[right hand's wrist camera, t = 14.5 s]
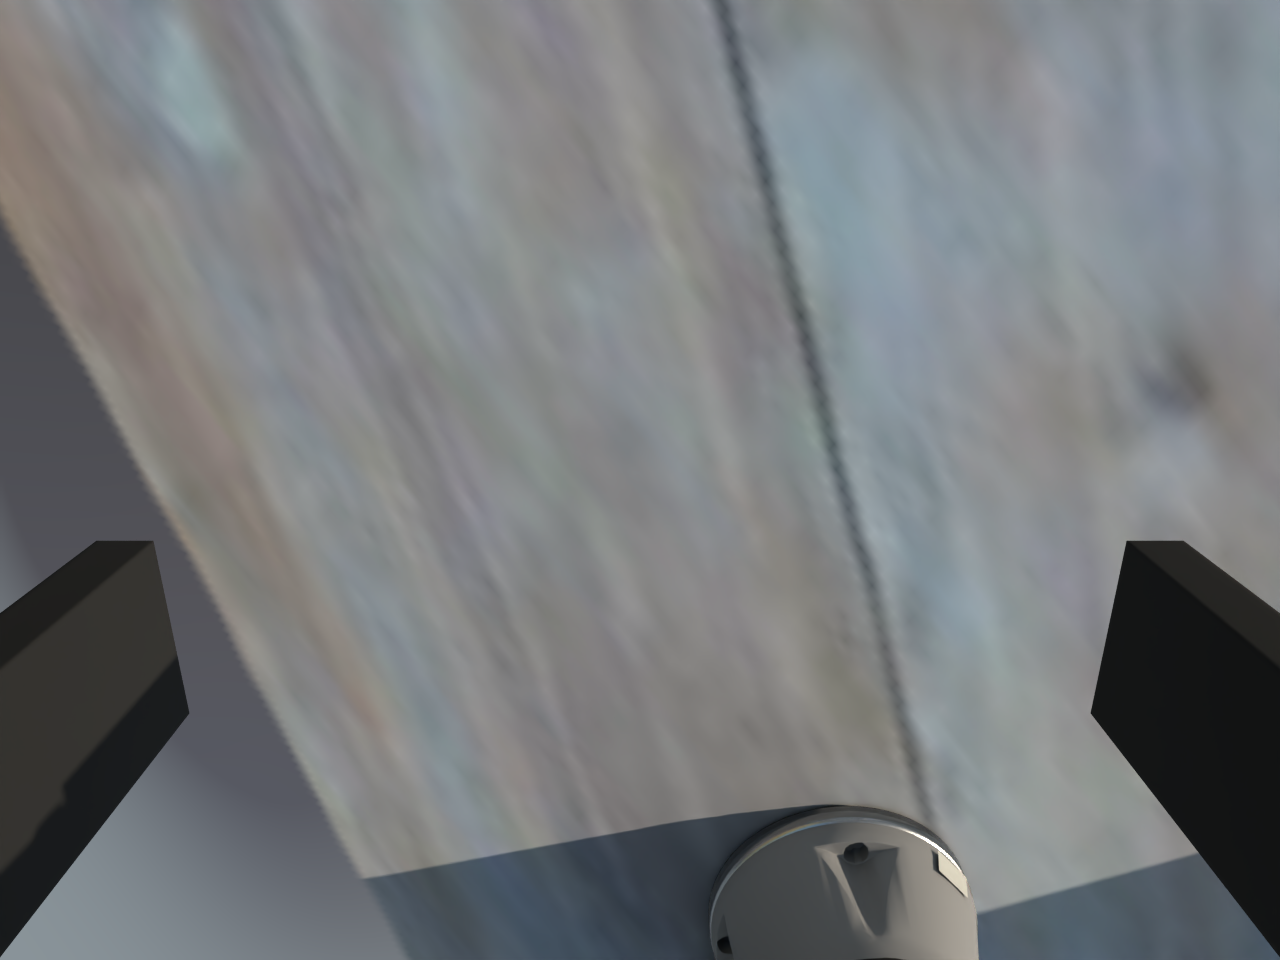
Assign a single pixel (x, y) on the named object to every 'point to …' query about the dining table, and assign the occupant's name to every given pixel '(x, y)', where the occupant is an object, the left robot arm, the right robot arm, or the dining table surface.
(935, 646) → the dining table surface
